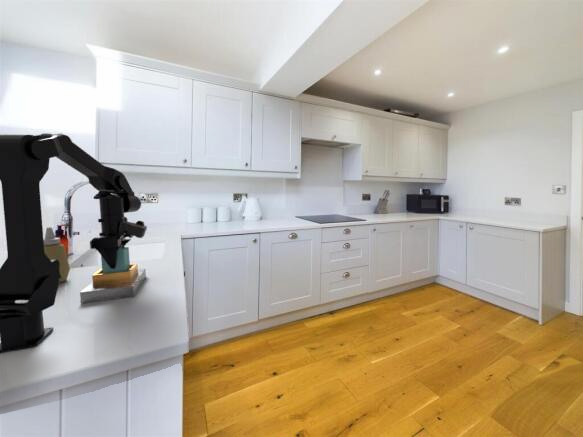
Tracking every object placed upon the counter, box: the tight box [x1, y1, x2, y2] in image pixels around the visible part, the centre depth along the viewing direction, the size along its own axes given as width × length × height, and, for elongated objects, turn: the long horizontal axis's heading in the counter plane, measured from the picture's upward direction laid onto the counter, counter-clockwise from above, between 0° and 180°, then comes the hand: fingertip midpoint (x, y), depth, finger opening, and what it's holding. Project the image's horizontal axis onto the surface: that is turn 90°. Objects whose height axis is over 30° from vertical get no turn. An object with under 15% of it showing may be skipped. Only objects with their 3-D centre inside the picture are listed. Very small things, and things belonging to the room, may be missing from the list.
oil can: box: [100, 246, 131, 274], centre depth 75 cm, size 6×6×11 cm
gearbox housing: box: [79, 263, 147, 304], centre depth 76 cm, size 19×12×6 cm, turn 21°
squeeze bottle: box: [43, 226, 71, 284], centre depth 80 cm, size 8×8×18 cm
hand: (116, 265), depth 75 cm, fingers closed on oil can, 6 cm apart
